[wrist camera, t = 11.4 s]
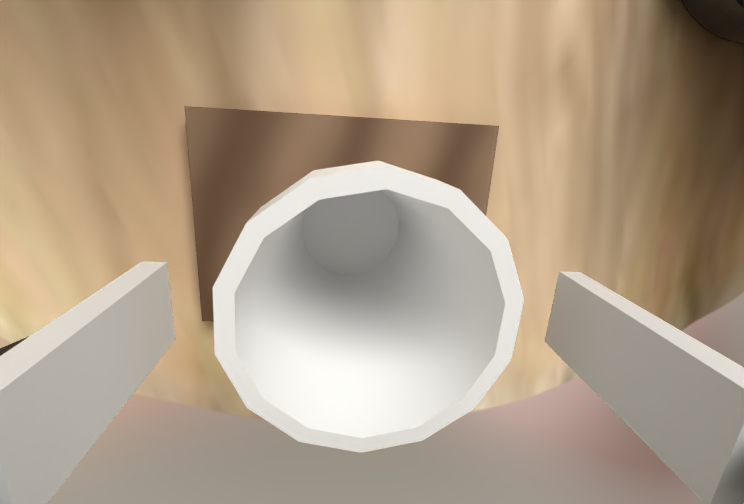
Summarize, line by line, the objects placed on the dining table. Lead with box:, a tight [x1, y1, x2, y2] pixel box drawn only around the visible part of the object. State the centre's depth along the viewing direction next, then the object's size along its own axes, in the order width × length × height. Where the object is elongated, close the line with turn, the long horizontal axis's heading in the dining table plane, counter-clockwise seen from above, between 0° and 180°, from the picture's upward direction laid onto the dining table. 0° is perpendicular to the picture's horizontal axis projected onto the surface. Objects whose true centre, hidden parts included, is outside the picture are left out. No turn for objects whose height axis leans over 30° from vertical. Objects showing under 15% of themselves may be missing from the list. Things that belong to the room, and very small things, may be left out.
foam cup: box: [213, 161, 524, 453], centre depth 18 cm, size 10×9×13 cm
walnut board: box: [185, 106, 499, 321], centre depth 25 cm, size 18×13×2 cm
